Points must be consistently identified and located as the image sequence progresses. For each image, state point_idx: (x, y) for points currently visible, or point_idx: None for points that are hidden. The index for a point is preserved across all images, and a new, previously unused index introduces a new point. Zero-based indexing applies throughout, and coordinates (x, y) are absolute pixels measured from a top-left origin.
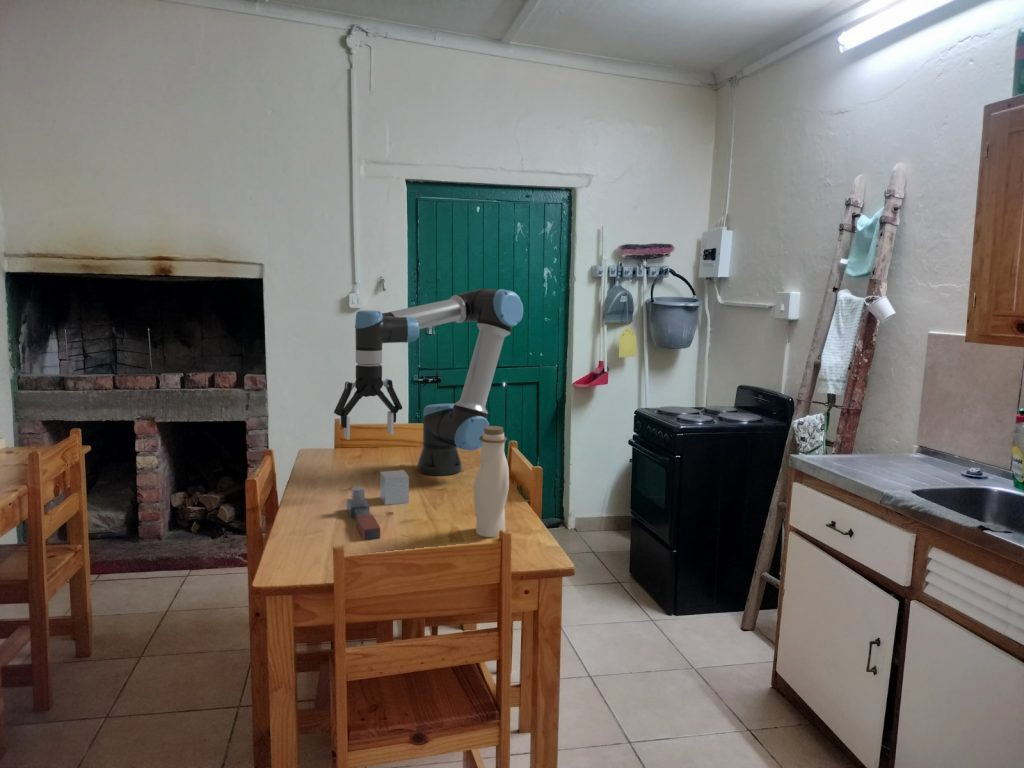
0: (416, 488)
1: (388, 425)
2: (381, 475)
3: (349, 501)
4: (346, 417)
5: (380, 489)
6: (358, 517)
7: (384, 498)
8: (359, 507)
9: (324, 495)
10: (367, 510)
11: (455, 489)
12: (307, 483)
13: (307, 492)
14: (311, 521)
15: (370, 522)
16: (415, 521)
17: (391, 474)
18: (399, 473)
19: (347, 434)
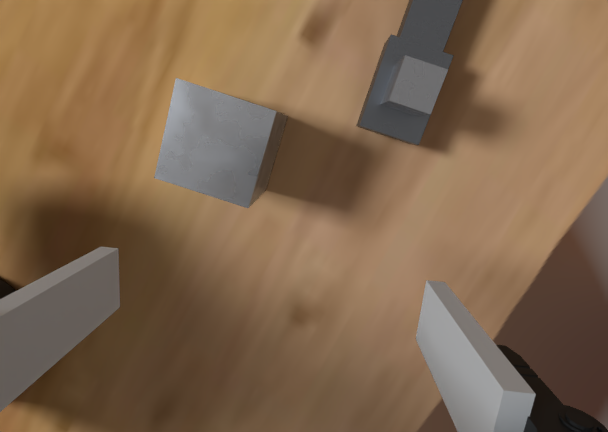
0: (123, 208)
1: (84, 318)
2: (256, 184)
3: (423, 118)
4: (526, 409)
5: (262, 191)
6: None
7: (283, 124)
8: (424, 46)
9: (396, 303)
10: (413, 6)
11: (13, 126)
12: (381, 424)
13: None
14: (555, 104)
15: None
16: None
17: (227, 148)
18: (191, 142)
19: (456, 298)
